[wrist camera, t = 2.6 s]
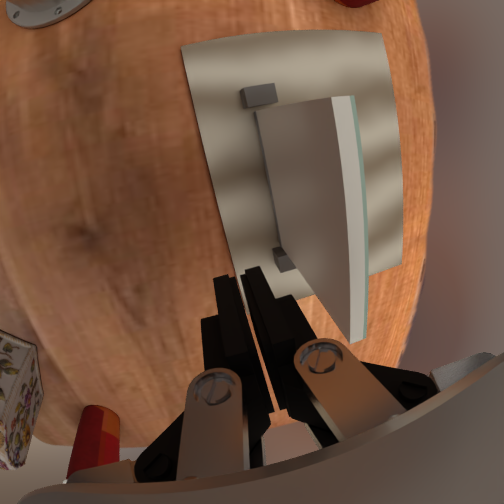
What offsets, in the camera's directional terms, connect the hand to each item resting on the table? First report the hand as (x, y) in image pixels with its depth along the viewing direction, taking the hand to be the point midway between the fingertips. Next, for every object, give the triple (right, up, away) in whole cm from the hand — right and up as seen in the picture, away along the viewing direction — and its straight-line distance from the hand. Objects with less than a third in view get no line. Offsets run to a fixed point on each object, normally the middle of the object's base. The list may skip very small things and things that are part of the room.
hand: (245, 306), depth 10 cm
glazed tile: (+2, +8, +13) cm, 16 cm away
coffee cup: (-23, -23, +25) cm, 41 cm away
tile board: (+6, +10, +16) cm, 19 cm away
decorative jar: (-34, -13, +18) cm, 41 cm away
